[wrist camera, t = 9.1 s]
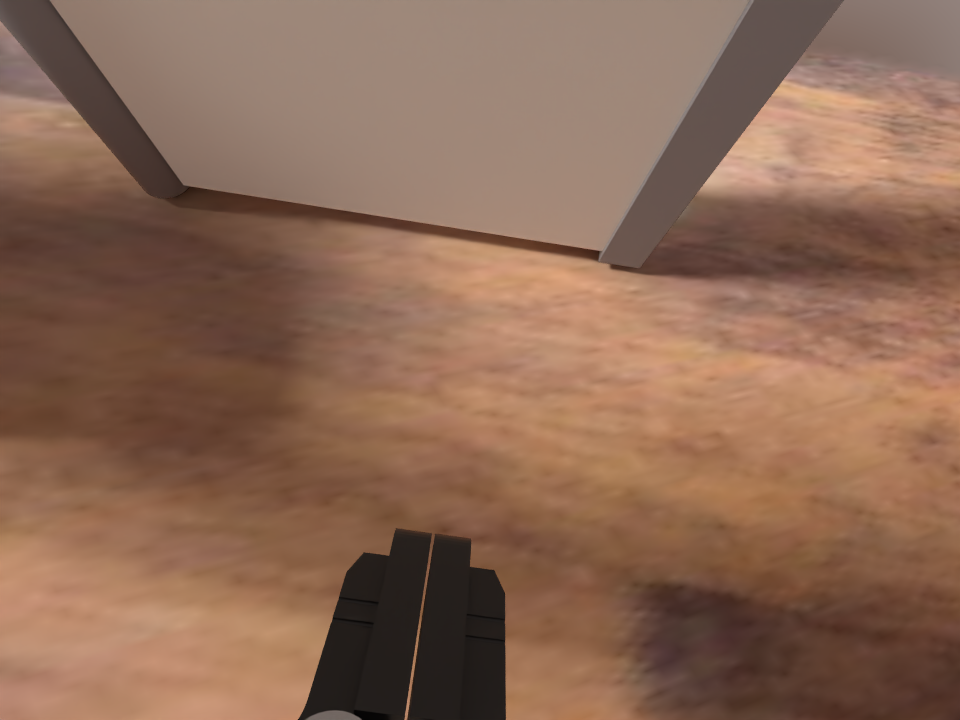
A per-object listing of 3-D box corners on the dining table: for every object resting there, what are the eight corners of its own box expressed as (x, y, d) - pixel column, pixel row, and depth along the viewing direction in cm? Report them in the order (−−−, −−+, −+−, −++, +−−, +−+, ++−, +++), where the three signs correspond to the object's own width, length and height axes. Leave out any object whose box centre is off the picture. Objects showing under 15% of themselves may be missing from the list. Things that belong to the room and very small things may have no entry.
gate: (132, 193, 22) (-459, -468, 7) (148, 148, 22) (-370, -545, 8) (638, 273, 22) (1004, -198, 8) (642, 227, 23) (987, -290, 9)
